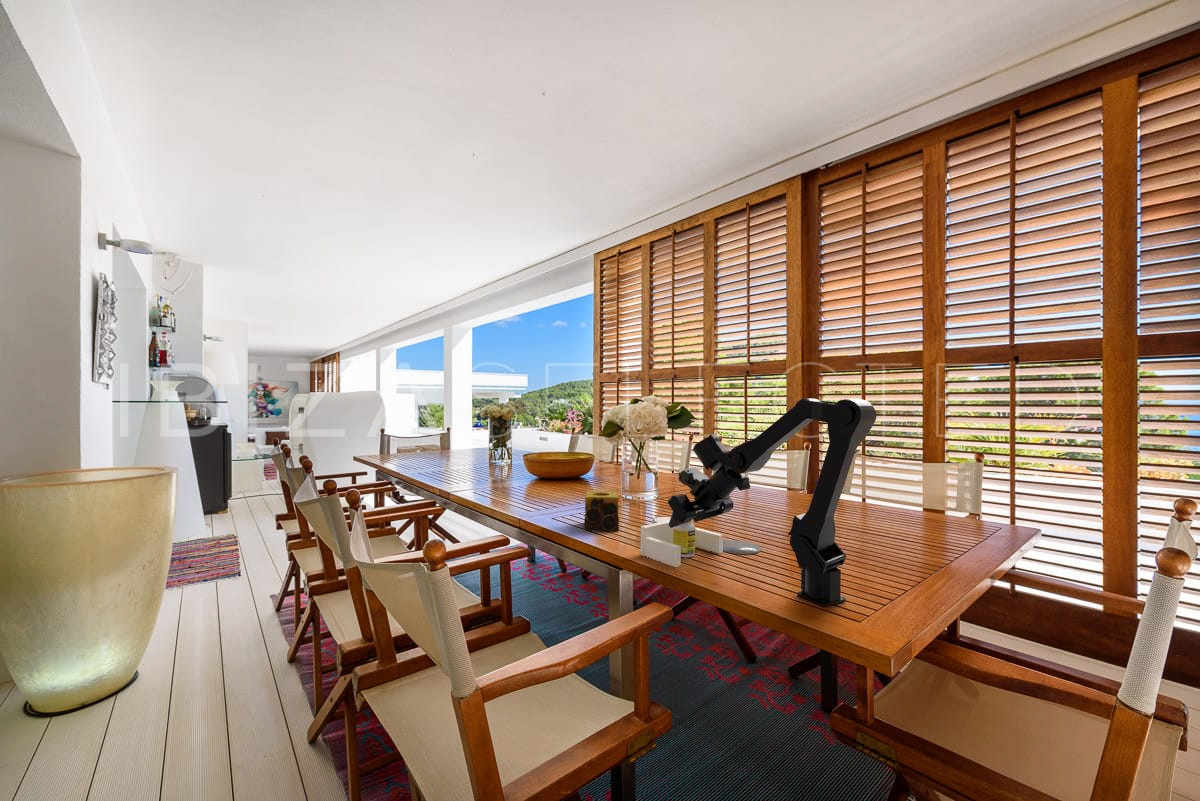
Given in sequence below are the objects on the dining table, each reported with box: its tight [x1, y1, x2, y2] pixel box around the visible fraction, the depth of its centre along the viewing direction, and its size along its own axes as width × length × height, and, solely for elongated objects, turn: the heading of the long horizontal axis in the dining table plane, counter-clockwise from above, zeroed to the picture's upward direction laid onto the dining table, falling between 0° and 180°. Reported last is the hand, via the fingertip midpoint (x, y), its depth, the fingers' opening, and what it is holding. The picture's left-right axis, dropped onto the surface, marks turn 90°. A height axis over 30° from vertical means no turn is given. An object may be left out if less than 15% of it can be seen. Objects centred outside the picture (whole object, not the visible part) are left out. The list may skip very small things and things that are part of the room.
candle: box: [583, 490, 620, 532], centre depth 150 cm, size 10×10×10 cm
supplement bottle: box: [673, 519, 696, 558], centre depth 124 cm, size 5×5×10 cm
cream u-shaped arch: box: [640, 520, 724, 568], centre depth 125 cm, size 11×18×7 cm, turn 130°
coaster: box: [723, 539, 762, 555], centre depth 130 cm, size 11×11×1 cm
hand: (682, 523), depth 125 cm, fingers open, 9 cm apart
